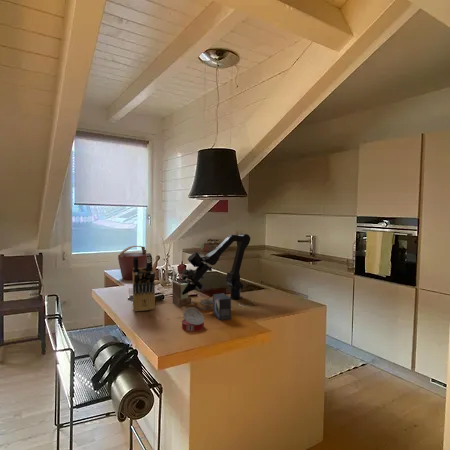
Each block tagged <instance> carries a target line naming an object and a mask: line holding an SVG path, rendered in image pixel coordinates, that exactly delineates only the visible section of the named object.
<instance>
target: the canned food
mask: <svg viewBox="0 0 450 450" xmlns="http://www.w3.org/2000/svg"><path fill="white" fill-rule="evenodd" d="M182 314H183V318H184V319H183V320H182V321H181V329H182V330H183V331H186V332H192V333H193V332H199V331H202V330H203V329H204V328H205V317H204V315H203V314H202V313H201V311H199V309H197V308H196V307H194V306H193V307H192V306H189V307H187V308H186V309H185V310H184V312H183V313H182Z"/></svg>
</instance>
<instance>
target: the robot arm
mask: <svg viewBox="0 0 450 450" xmlns="http://www.w3.org/2000/svg"><path fill="white" fill-rule="evenodd" d="M234 242H235V243H236V251H235V256H234V259H233V264H232V268H231V270H230V271H227V273H226V277H225V282H226V284H227V285H228V287H230V296H229V297H230V298H231V300H232V299H233V300H240V299H242V298H243V296H242V295H241V290H242V289H243V288H244V284H243V283H242V282H241V275H240V271H241V266H242V262H243V259H244V254H245V250H246V249H247V248H248V246H249V244H250V242H251V236H250V235H249V234H247V233H239V234H228V235H227V237H226V238H224V240H223V241H222V242H221V243H219V245H218V246H217V247H216V248H215V249H213V250H212V251H210V252H208V253H207V254H206V255H205V256H201V255H200V254H199V253H198V252H197V251H195V252H194V253H192V254H191V255H189V256H188V258H187V261H188V262H189V263H190V264H191V265H192V267H194V268H196V269H191V268H189V269H187V268H183V269H182V271H181V274H182V275H181V276H180V279H182V280H183V284H184V283H187V286H186V288H185V289H184V291H183V292H182V294H183V295H184V294H186V293H188V294H189V293H190V292H193V291H195V290H197V289H198V290H199V291H202V289H203V288H204V287H203V286H204V285H203V284H202V283H201V282H200V281H201V279H202V280H203V279H204V278H205V277H204V276H205V275H206V273H207V272H208V271H209V272H210V273H211V272H212V271H213V270H212V268H213V267H212V266H215V265H216V264H217V263H218V261H219V259H220V258H221V256H222V254H223V253H224V252H225V251H226V250H227V249H228V248H229V247H230V246H231V245H232V244H233V243H234Z"/></svg>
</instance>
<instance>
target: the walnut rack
mask: <svg viewBox="0 0 450 450" xmlns="http://www.w3.org/2000/svg"><path fill="white" fill-rule="evenodd" d="M181 284H182V283H179V282H177V281H175V280H174V281H172V304H174V305H175V306H177V308H179V307H186V306H193V305H194V306H195V305H196V303H194V302H193V301H192V298H191V297H190V296H188V298H187V299H181Z"/></svg>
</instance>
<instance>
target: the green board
mask: <svg viewBox="0 0 450 450" xmlns="http://www.w3.org/2000/svg"><path fill="white" fill-rule="evenodd" d="M180 284H181V299H187V298H188V297H189V292H188V293H186V294H184V295H183V294H182V292H183V291H184V289H185V288H186V286H187V283H184V282H183V283H180Z"/></svg>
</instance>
